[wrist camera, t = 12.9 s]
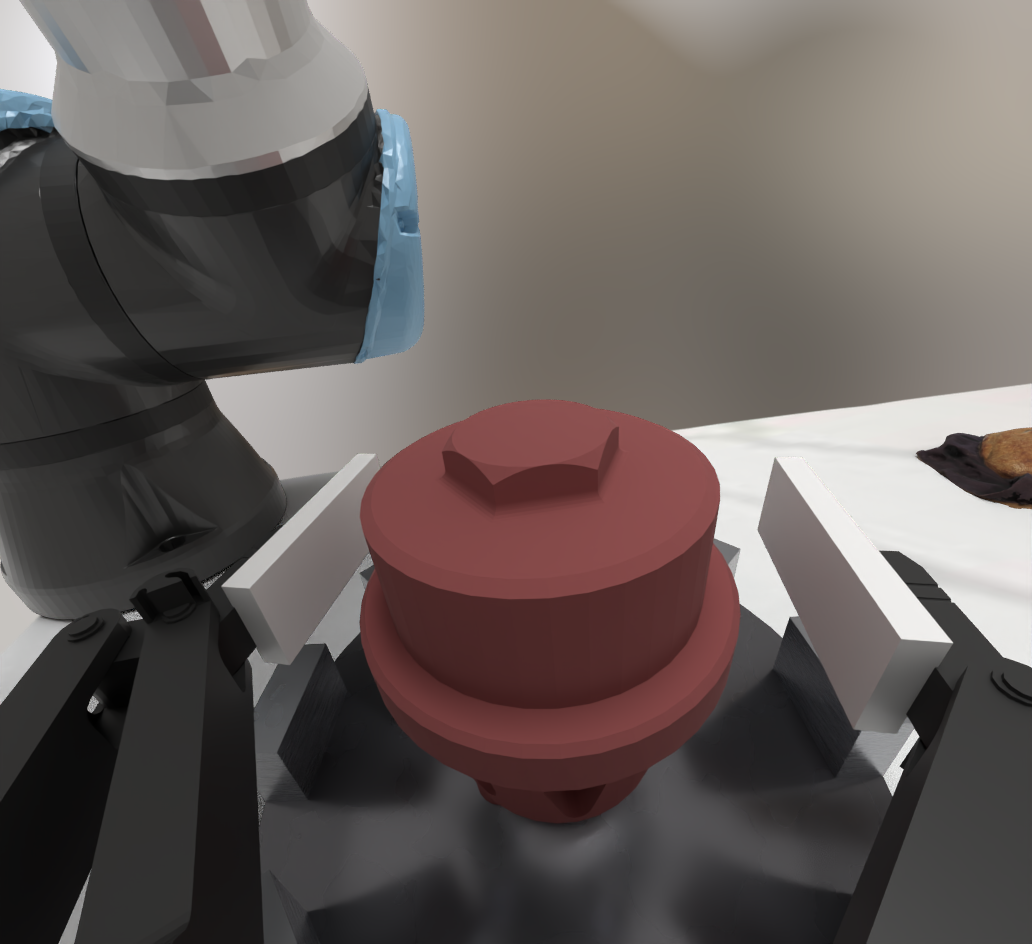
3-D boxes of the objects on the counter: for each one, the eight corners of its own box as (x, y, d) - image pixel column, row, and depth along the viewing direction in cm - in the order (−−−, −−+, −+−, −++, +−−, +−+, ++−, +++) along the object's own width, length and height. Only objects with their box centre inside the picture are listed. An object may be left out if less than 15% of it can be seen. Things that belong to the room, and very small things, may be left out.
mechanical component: (761, 749, 15) (538, 1038, 10) (563, 591, 22) (378, 716, 17) (872, 417, 9) (449, 742, 4) (550, 348, 16) (259, 436, 11)
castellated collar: (369, 565, 26) (353, 517, 24) (725, 543, 25) (735, 490, 23) (33, 1359, 8) (-129, 1397, 6) (1267, 1376, 7) (1500, 1427, 5)
